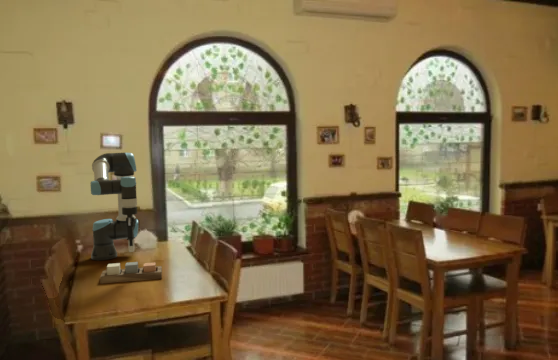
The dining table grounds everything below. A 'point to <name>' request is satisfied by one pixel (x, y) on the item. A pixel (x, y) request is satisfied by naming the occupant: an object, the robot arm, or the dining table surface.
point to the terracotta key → (149, 267)
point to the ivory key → (113, 269)
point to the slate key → (131, 267)
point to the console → (131, 276)
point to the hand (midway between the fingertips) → (131, 251)
